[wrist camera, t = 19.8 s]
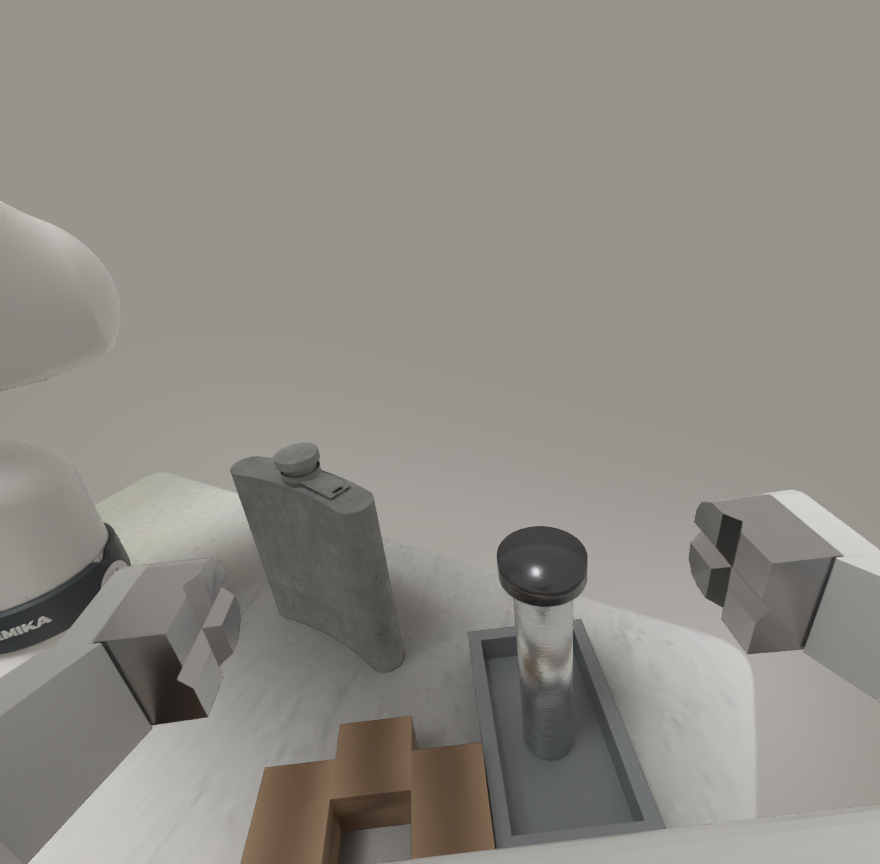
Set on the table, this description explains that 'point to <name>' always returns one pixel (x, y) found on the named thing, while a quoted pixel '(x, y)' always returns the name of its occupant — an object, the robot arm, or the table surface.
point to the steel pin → (544, 630)
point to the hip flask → (322, 551)
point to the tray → (564, 780)
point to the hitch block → (372, 797)
